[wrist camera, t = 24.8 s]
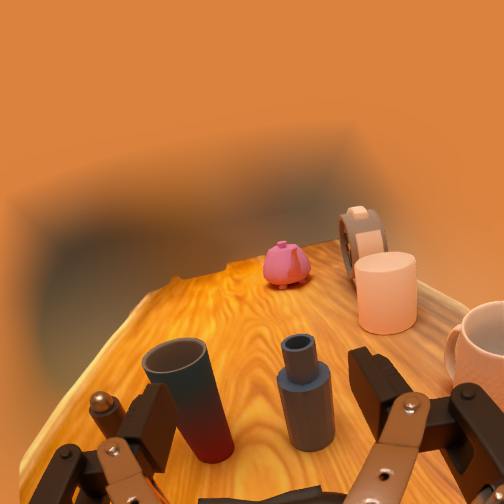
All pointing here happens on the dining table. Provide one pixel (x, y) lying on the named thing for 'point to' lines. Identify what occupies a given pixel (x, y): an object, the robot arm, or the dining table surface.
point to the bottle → (306, 394)
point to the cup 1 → (192, 395)
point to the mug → (479, 350)
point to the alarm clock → (360, 236)
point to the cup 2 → (386, 292)
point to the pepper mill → (106, 413)
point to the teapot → (286, 265)
